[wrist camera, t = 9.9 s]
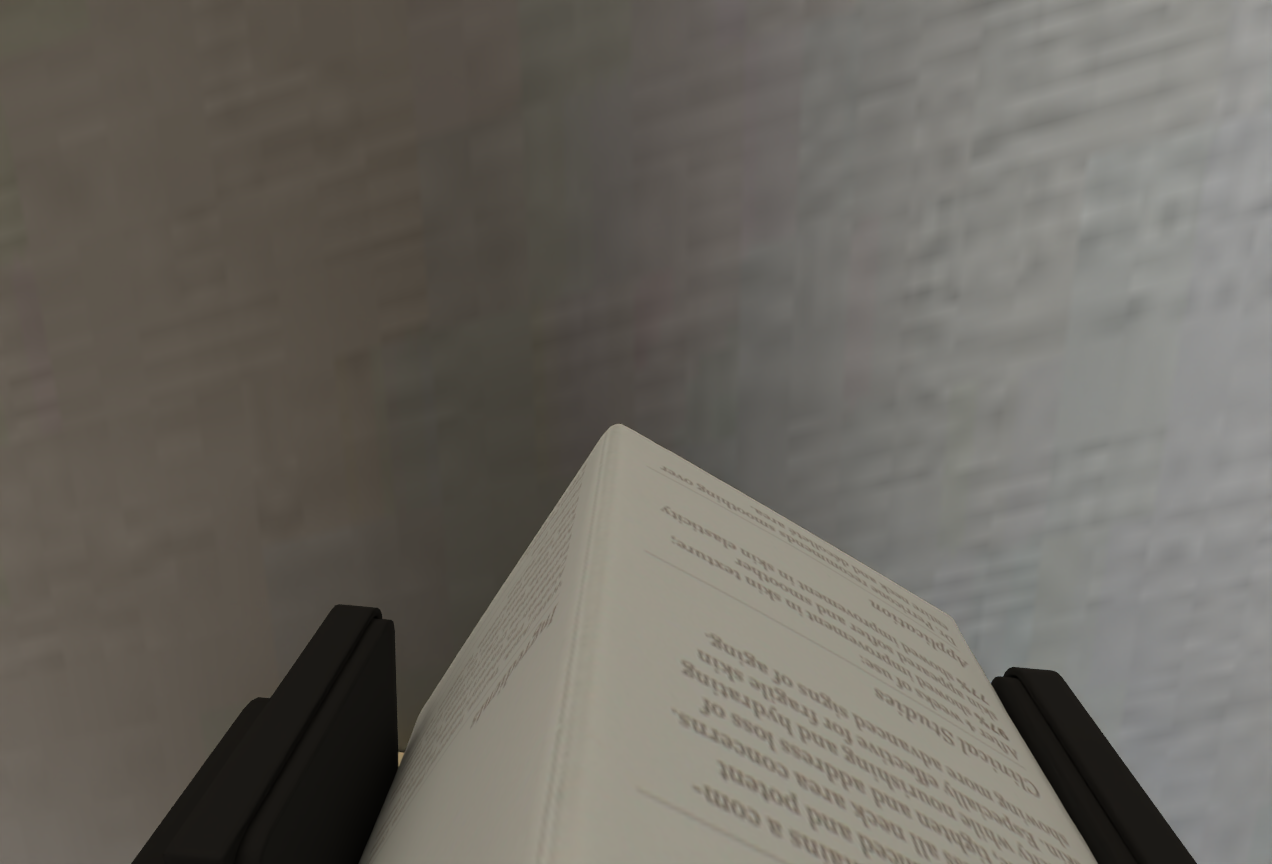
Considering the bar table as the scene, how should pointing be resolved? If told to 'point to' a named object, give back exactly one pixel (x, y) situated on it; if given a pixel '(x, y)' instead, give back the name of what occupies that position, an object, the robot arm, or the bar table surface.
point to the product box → (710, 702)
